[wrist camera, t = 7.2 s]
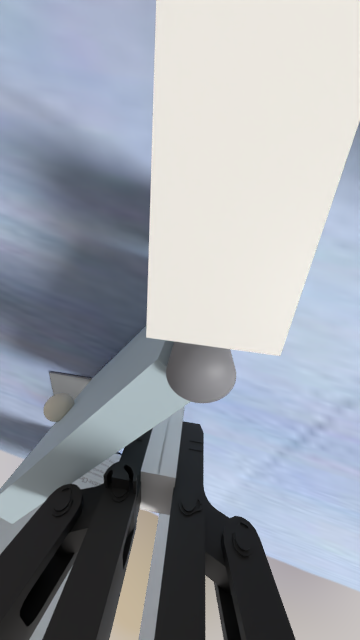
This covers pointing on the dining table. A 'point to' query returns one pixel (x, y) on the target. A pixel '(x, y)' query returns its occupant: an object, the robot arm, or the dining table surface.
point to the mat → (68, 383)
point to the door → (115, 413)
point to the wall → (242, 172)
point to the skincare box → (5, 532)
